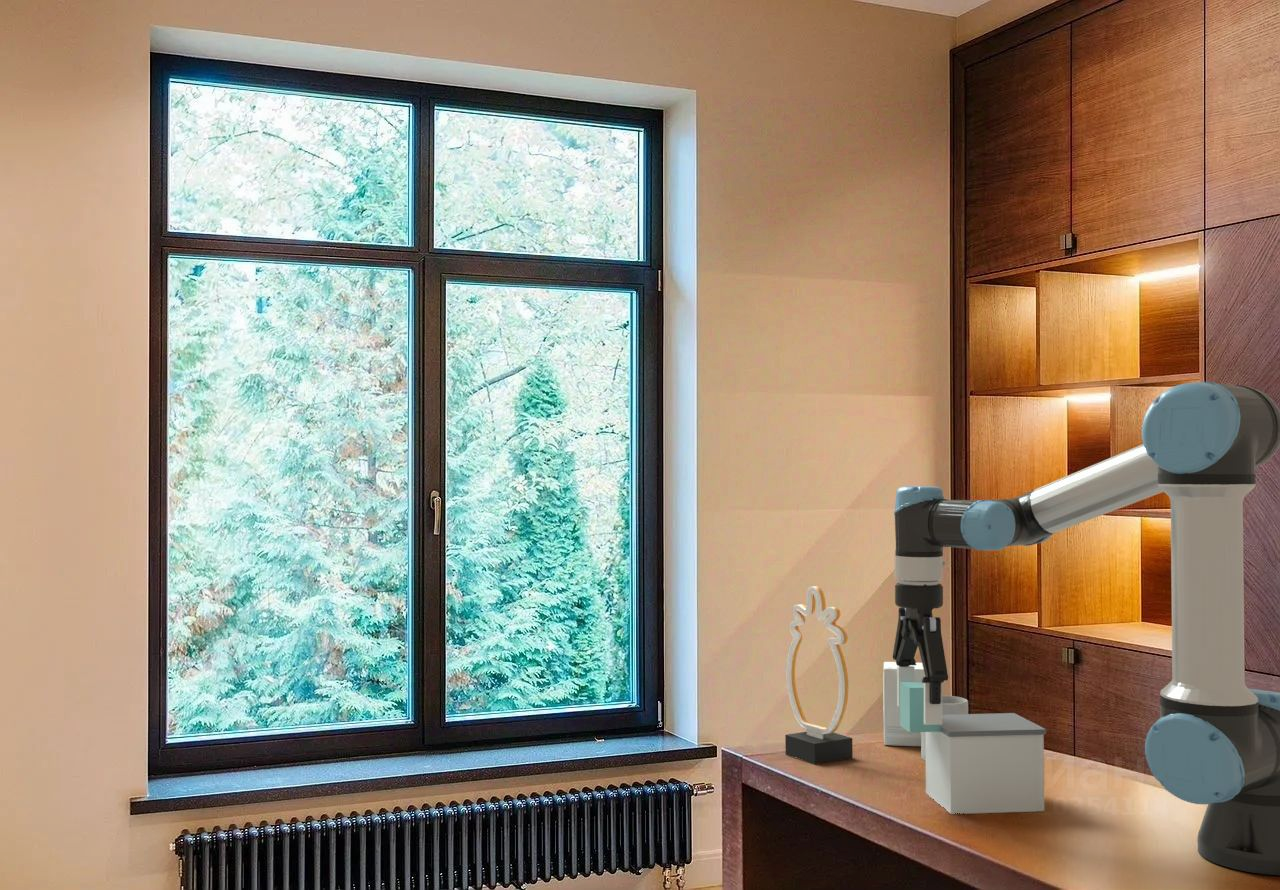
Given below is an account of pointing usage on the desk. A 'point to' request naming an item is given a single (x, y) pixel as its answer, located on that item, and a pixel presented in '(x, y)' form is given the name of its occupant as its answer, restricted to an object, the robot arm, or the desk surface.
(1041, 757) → the tub
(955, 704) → the mug
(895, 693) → the supplement box
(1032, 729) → the lid
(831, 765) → the desk surface
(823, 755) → the lamp
